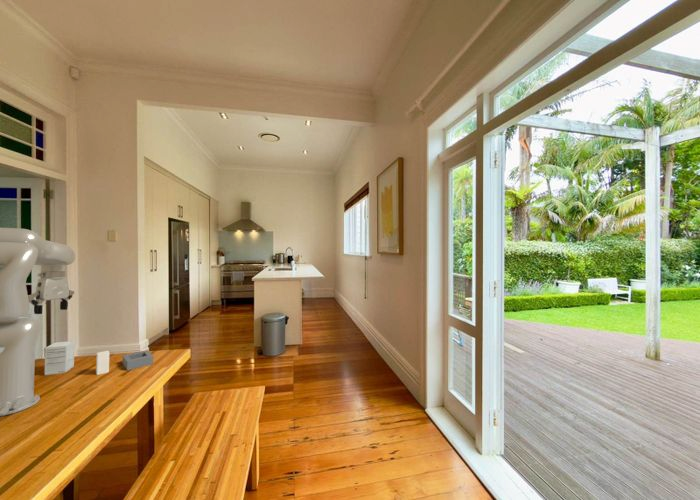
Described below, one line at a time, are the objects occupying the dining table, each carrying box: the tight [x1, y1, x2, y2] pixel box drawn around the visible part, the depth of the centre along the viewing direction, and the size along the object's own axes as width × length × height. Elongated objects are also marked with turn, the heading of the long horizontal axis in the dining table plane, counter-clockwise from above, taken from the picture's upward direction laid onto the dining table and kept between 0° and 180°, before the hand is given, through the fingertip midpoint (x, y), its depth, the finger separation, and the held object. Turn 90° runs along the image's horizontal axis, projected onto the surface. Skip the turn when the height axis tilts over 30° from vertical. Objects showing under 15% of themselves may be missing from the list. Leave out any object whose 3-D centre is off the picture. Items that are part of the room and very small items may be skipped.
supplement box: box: [44, 340, 75, 376], centre depth 122 cm, size 7×7×13 cm
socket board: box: [121, 349, 154, 371], centre depth 132 cm, size 12×10×4 cm
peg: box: [95, 350, 110, 376], centre depth 122 cm, size 4×4×9 cm
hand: (51, 311), depth 123 cm, fingers open, 9 cm apart
